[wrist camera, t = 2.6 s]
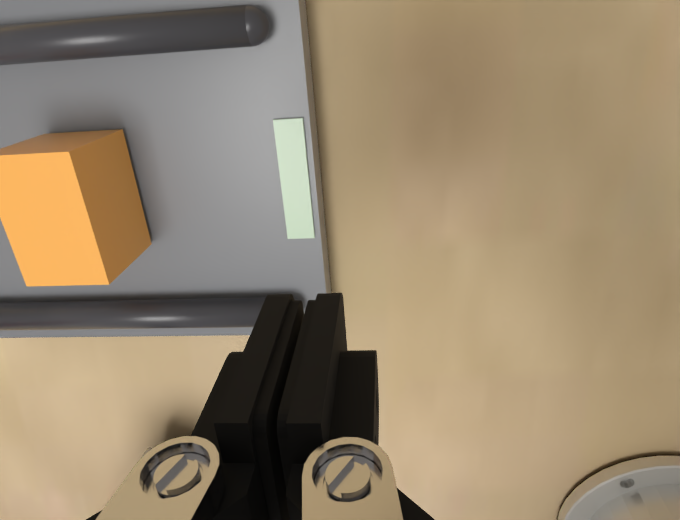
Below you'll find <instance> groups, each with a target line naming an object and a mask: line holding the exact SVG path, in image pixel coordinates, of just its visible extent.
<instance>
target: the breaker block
mask: <svg viewBox="0 0 680 520" xmlns="http://www.w3.org/2000/svg"><path fill="white" fill-rule="evenodd" d="M116 129H123V133H124V137H125V140H126V144H127V148H128V152H129V156H130V160H131V164H132V168H133V172H134V176H135V180H136V184H137V188H138V192H139V196H140V200H141V204H142V208H143V212H144V216H145V220H146V224H147V228H148V232H149V236H150V239H151V243H152V244H151V245H150V246H149V247H148V248H147V249H146V250H145V251H144V252H143V253H142V254H141V255H140V256H139V257H138V258H137V259H136V260H134V261H133V262H132V263H131V264H130V265H129V266H128V267H127V268H126V269H125V270H124V271H123V272H122V273H121V274H120V275H119V276H118V277H117V278H116V279H115V280H114V281H113V282H111V283H110V284H109V285H71V286H26V284H25V281H24V278H23V276H22V273H21V271H20V268H19V265H18V263H17V260H16V258H15V255H14V252H13V250H12V247H11V245H10V242H9V239H8V237H7V234H6V232H5V229H4V226H3V224H2V221H1V219H0V338H25V337H117V336H209V335H251V332H252V330H253V327H254V325H255V323H256V320H257V318H258V315H259V313H260V311H261V308H262V306H263V303H264V301H265V298H266V296H267V295H274V294H292V295H293V297H294V300H301V301H302V303H303V309H304V313H305V309H306V305H307V302H308V300H316V296H317V294H318V293H331V281H330V270H329V259H328V248H327V237H326V225H325V214H324V203H323V192H322V181H321V169H320V158H319V147H318V136H317V125H316V113H315V102H314V91H313V80H312V69H311V58H310V46H309V35H308V24H307V13H306V2H305V0H0V149H1V148H4V147H7V146H10V145H13V144H16V143H19V142H21V141H24V140H27V139H30V138H33V137H36V136H39V135H42V134H48V133H65V132H82V131H99V130H116Z"/></svg>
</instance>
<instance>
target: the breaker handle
mask: <svg viewBox="0 0 680 520" xmlns="http://www.w3.org/2000/svg"><path fill="white" fill-rule="evenodd" d="M0 219H1V221H2V224H3V226H4V229H5V232H6V234H7V237H8V239H9V242H10V245H11V247H12V250H13V252H14V255H15V258H16V260H17V263H18V265H19V268H20V271H21V273H22V276H23V278H24V281H25V284H26V286H71V285H109V284H110V283H111V282H113V281H114V280H115V279H116V278H117V277H118V276H119V275H120V274H121V273H122V272H123V271H124V270H125V269H126V268H127V267H128V266H129V265H130V264H131V263H132V262H133V261H134V260H136V259H137V258H138V257H139V256H140V255H141V254H142V253H143V252H144V251H145V250H146V249H147V248H148V247H149V246H150V245H151V244H152V243H151V239H150V236H149V232H148V228H147V224H146V220H145V216H144V212H143V208H142V204H141V200H140V196H139V192H138V188H137V184H136V180H135V176H134V172H133V168H132V164H131V160H130V156H129V152H128V148H127V144H126V140H125V137H124V133H123V129H116V130H99V131H82V132H65V133H48V134H42V135H39V136H36V137H33V138H30V139H27V140H24V141H21V142H19V143H16V144H13V145H10V146H7V147H4V148H1V149H0Z"/></svg>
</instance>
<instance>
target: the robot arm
mask: <svg viewBox="0 0 680 520" xmlns="http://www.w3.org/2000/svg"><path fill="white" fill-rule="evenodd" d="M378 434H379V394H378V369H377V353H376V350H368V351H347V341H346V329H345V316H344V304H343V295H342V293H318V294H317V296H316V300H308V302H307V305H306V309H305V313H304V309H303V303H302V301H301V300H294V297H293V295H292V294H274V295H267V296H266V298H265V301H264V303H263V306H262V308H261V311H260V313H259V315H258V318H257V320H256V323H255V325H254V327H253V330H252V332H251V335H250V337H249V339H248V342H247V344H246V347H245V349H244V351H243V352H231V353H229V355H228V357H227V358H226V360H225V363H224V365H223V367H222V369H221V371H220V373H219V376H218V378H217V380H216V382H215V384H214V387H213V389H212V391H211V393H210V395H209V397H208V400H207V402H206V404H205V406H204V408H203V411H202V413H201V415H200V417H199V419H198V422H197V424H196V426H195V428H194V430H193V432H192V435H191V436H182V437H178V438H173V439H170V440H168V441H165V442H163V443H161V444H159V445H157V446H156V447H154V448H153V449H151V450H150V451H148V452H147V453H146V454H145V455H144V456H143V457H142V458H141V459H140V460H139V461H138V462H137V464H136V465H135V466H134V468H133V469H132V470H131V472H130V473H129V475H128V476H127V477H126V479H125V480H124V481H123V483H122V484H121V485H120V487H119V488H118V490H117V491H116V492H115V494H114V495H113V496H112V498H111V499H110V501H109V502H108V503H107V505H106V506H105V507H104V509H103V510H102V511H100V512H98V513H96V514H95V515H93V516H91V517H90V518H88V519H86V520H434V519H433V518H432V517H431V516H430V515H429V514H427V513H426V512H425V511H424V510H423V509H421V508H420V507H419V506H418V505H417V504H415V503H414V502H413V501H412V500H411V499H409V498H408V497H407V496H406V495H405V494H403V493H402V492H401V491H400V490H399V489H398V488H397V487H396V482H395V477H394V472H393V467H392V464H391V462H390V459H389V457H388V455H387V454H386V453H385V452H384V451H383V450H382V448H381V447H380V446H378ZM558 520H680V456H652V457H643V458H637V459H633V460H629V461H625V462H621V463H618V464H616V465H613V466H611V467H608V468H606V469H603V470H601V471H600V472H598V473H596V474H594V475H593V476H591V477H589V478H588V479H586V480H585V481H584V482H583V483H581V484H580V485H579V486H578V487H576V488H575V489H574V490H573V492H572V493H571V494H570V495H569V496H568V497H567V499H566V500H565V502H564V504H563V505H562V507H561V509H560V511H559V515H558Z"/></svg>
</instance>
